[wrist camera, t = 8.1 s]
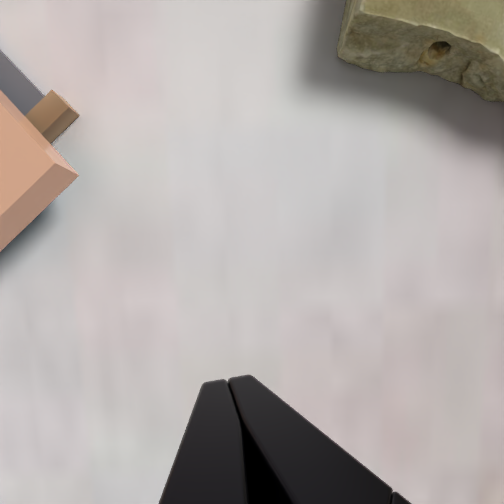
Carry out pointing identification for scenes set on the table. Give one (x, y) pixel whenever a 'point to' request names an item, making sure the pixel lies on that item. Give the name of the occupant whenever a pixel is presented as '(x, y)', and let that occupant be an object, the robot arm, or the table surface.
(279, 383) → the table surface
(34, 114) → the stop strip
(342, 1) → the table surface
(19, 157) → the tile
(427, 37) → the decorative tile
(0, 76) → the mat
